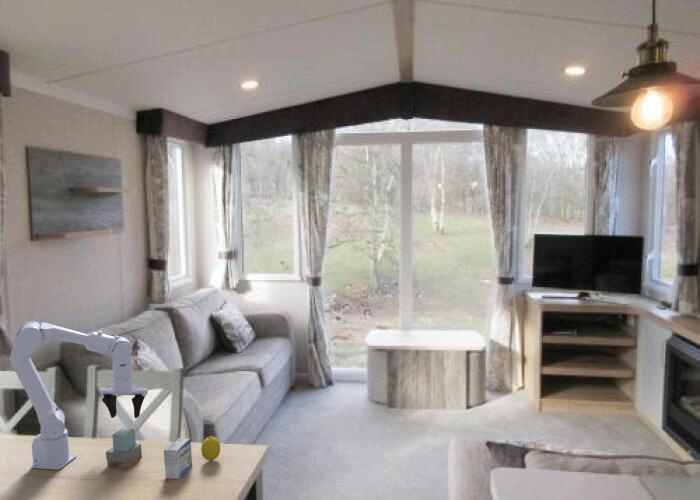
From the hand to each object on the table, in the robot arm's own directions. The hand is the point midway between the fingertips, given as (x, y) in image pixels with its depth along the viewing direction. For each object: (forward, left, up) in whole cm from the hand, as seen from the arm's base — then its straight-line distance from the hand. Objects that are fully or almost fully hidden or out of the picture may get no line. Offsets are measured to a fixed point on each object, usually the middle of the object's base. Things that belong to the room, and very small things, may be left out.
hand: (125, 416), depth 169 cm
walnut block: (+5, -9, -11) cm, 15 cm away
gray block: (+4, -9, -8) cm, 13 cm away
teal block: (+5, -9, -6) cm, 11 cm away
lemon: (+31, -5, -11) cm, 33 cm away
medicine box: (+24, -12, -11) cm, 29 cm away
